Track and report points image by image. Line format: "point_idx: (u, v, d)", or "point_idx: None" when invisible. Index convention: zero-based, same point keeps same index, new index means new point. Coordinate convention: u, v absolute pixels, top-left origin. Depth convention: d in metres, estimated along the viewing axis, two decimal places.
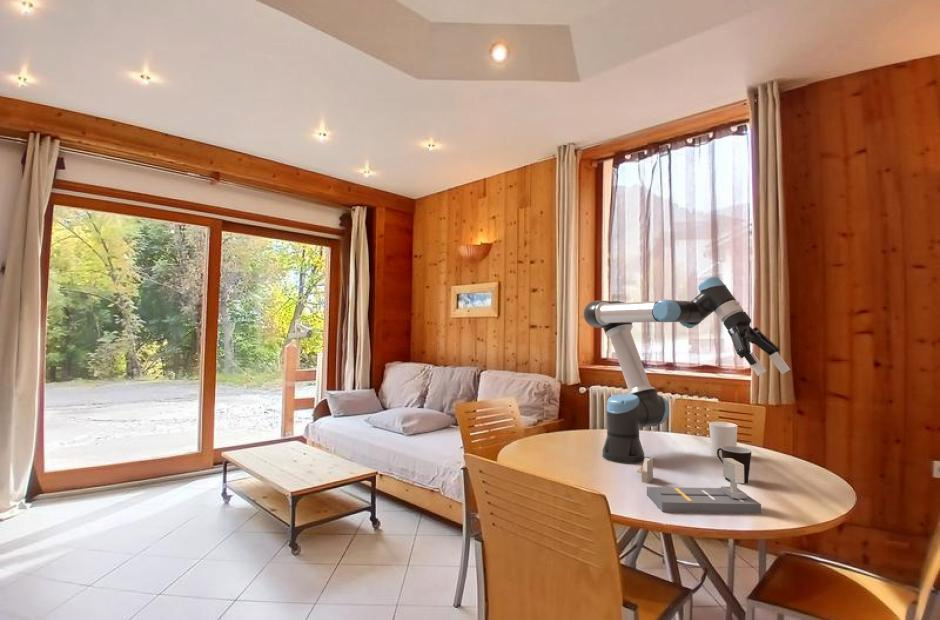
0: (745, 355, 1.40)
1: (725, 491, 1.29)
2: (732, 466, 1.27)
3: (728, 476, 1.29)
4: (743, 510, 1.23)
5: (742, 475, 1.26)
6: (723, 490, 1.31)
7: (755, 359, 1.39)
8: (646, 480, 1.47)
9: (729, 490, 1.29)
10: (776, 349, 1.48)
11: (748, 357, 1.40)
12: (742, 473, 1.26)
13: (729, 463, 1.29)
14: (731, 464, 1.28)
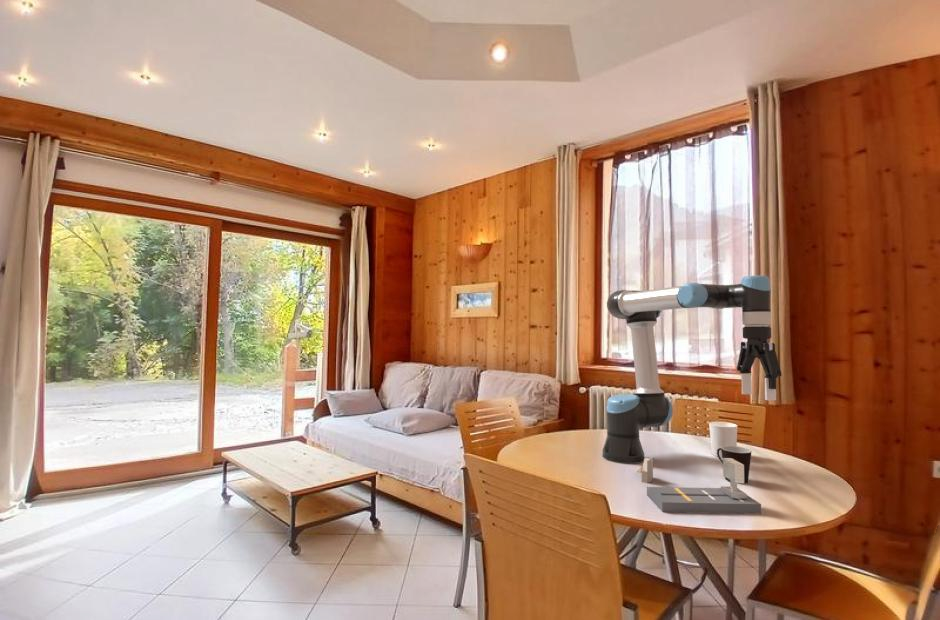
0: (773, 378, 1.33)
1: (725, 491, 1.29)
2: (732, 466, 1.27)
3: (728, 476, 1.29)
4: (743, 510, 1.23)
5: (742, 475, 1.26)
6: (723, 490, 1.31)
7: None
8: (646, 480, 1.47)
9: (729, 490, 1.29)
10: None
11: (774, 381, 1.33)
12: (742, 473, 1.26)
13: (729, 463, 1.29)
14: (731, 464, 1.28)
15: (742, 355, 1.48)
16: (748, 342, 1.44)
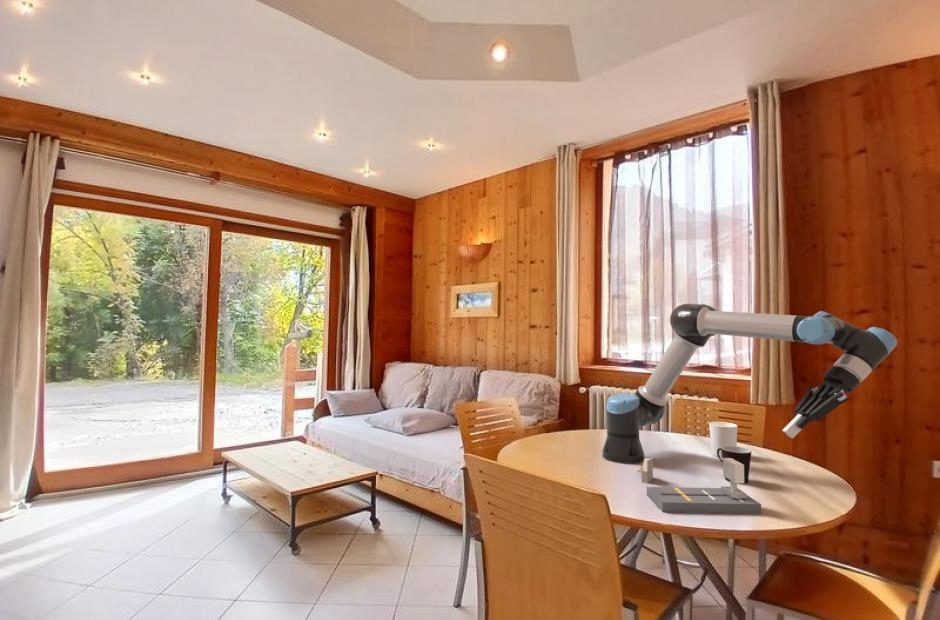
0: (808, 418, 1.27)
1: (725, 491, 1.29)
2: (732, 466, 1.27)
3: (728, 476, 1.29)
4: (743, 510, 1.23)
5: (742, 475, 1.26)
6: (723, 490, 1.31)
7: None
8: (646, 480, 1.47)
9: (729, 490, 1.29)
10: None
11: (806, 422, 1.27)
12: (742, 473, 1.26)
13: (729, 463, 1.29)
14: (731, 464, 1.28)
15: (807, 397, 1.33)
16: (822, 382, 1.32)
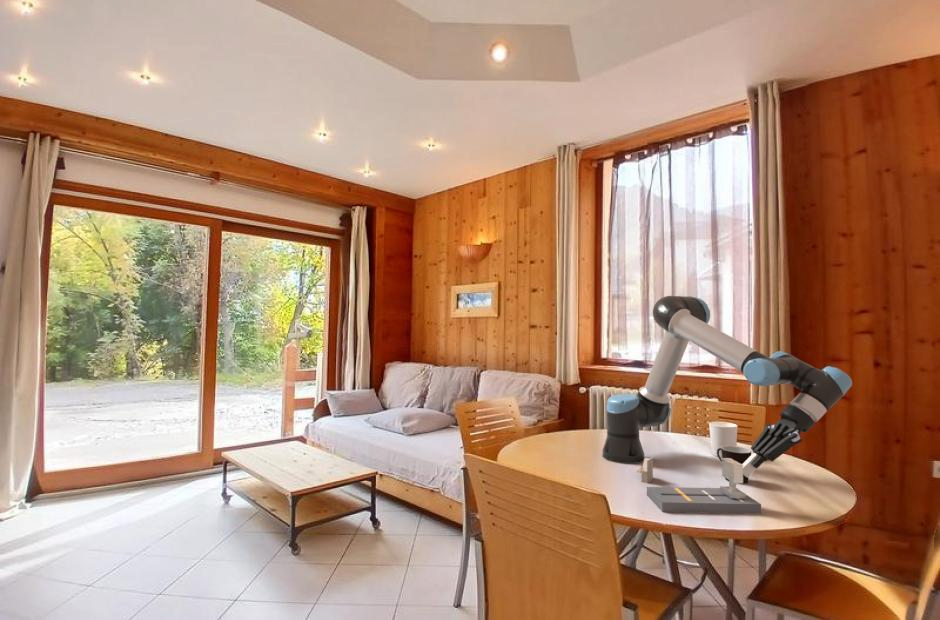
0: (762, 458, 1.26)
1: (724, 491, 1.29)
2: (731, 466, 1.27)
3: (727, 476, 1.29)
4: (743, 510, 1.23)
5: (741, 475, 1.26)
6: (722, 490, 1.31)
7: None
8: (646, 480, 1.47)
9: (728, 490, 1.29)
10: None
11: (760, 461, 1.26)
12: (741, 473, 1.26)
13: (728, 463, 1.29)
14: (730, 464, 1.28)
15: (764, 435, 1.32)
16: (779, 421, 1.31)
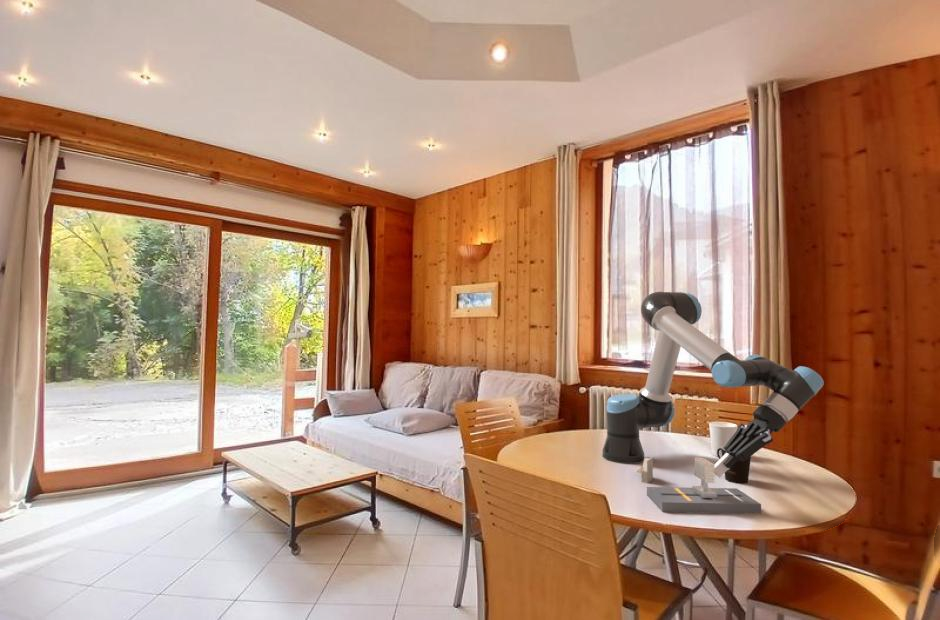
0: (734, 458, 1.26)
1: (696, 490, 1.30)
2: (702, 466, 1.28)
3: (699, 476, 1.30)
4: (743, 510, 1.23)
5: (712, 475, 1.26)
6: (694, 489, 1.31)
7: None
8: (646, 480, 1.47)
9: (700, 489, 1.29)
10: None
11: (732, 461, 1.26)
12: (712, 473, 1.26)
13: (700, 463, 1.29)
14: (702, 464, 1.28)
15: (737, 435, 1.32)
16: (752, 420, 1.31)
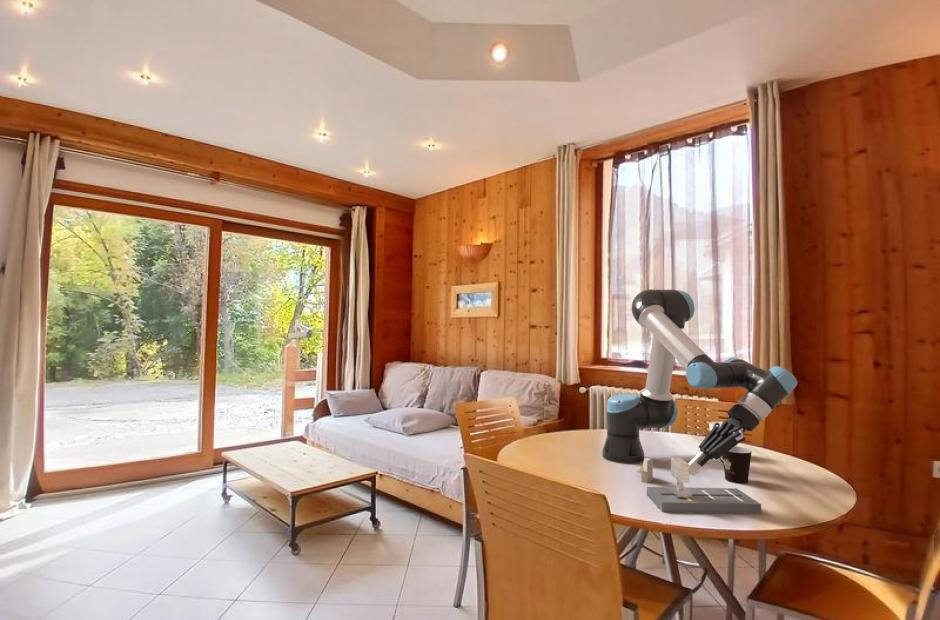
0: (708, 456, 1.27)
1: (672, 490, 1.30)
2: (678, 465, 1.28)
3: (675, 475, 1.30)
4: (743, 510, 1.23)
5: (687, 474, 1.26)
6: (670, 489, 1.31)
7: None
8: (646, 480, 1.47)
9: (675, 489, 1.29)
10: None
11: (706, 459, 1.28)
12: (687, 472, 1.26)
13: (676, 463, 1.29)
14: (677, 463, 1.28)
15: (712, 433, 1.33)
16: (727, 419, 1.33)
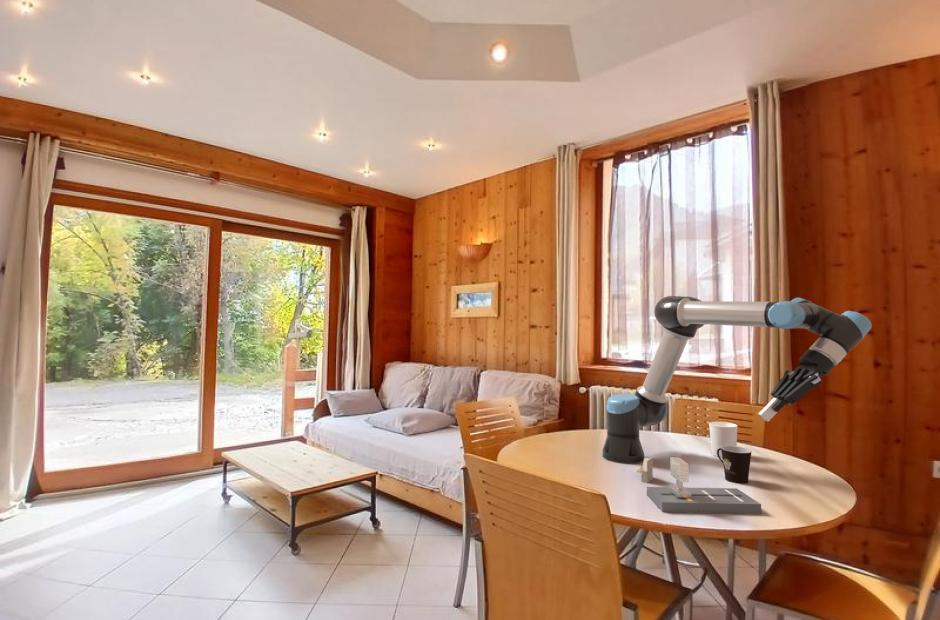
0: (783, 402, 1.28)
1: (671, 490, 1.30)
2: (677, 465, 1.28)
3: (674, 475, 1.30)
4: (743, 510, 1.23)
5: (687, 474, 1.26)
6: (670, 489, 1.31)
7: None
8: (646, 480, 1.47)
9: (675, 489, 1.29)
10: None
11: (781, 405, 1.28)
12: (687, 472, 1.26)
13: (675, 463, 1.29)
14: (676, 463, 1.28)
15: (784, 381, 1.34)
16: (798, 366, 1.33)
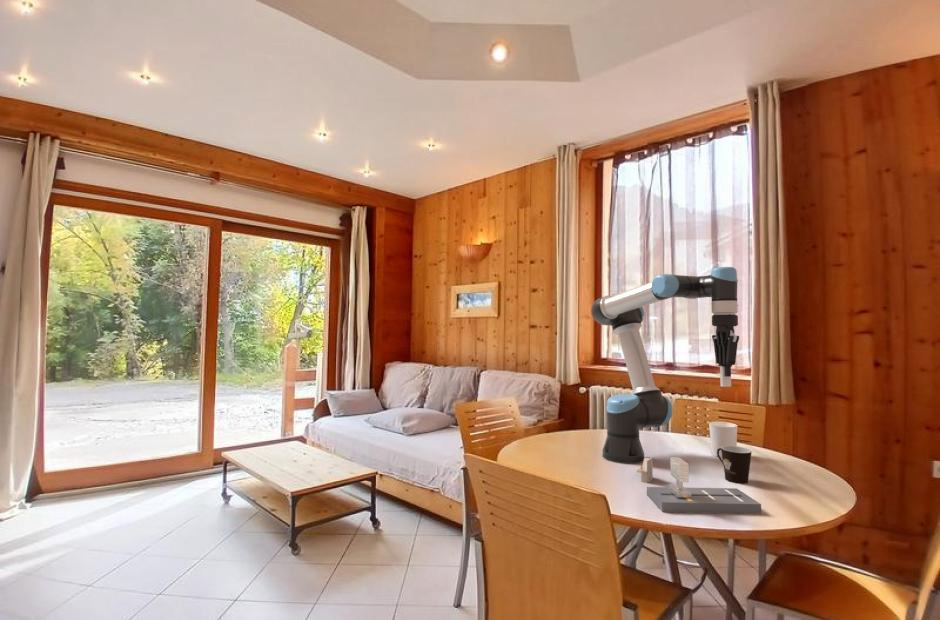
0: (728, 367, 1.49)
1: (671, 490, 1.30)
2: (677, 465, 1.28)
3: (674, 475, 1.30)
4: (743, 510, 1.23)
5: (687, 474, 1.26)
6: (670, 489, 1.31)
7: None
8: (646, 480, 1.47)
9: (675, 489, 1.29)
10: None
11: (729, 369, 1.49)
12: (687, 472, 1.26)
13: (675, 463, 1.29)
14: (676, 463, 1.28)
15: (716, 346, 1.55)
16: (716, 329, 1.54)
